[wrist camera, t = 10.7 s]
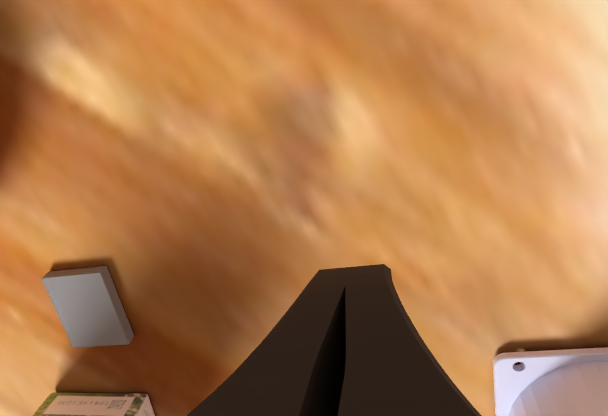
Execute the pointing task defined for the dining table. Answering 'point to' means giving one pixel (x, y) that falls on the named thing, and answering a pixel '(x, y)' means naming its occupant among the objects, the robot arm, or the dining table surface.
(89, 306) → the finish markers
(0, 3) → the dining table surface
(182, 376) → the dining table surface
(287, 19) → the dining table surface
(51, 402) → the syrup box
